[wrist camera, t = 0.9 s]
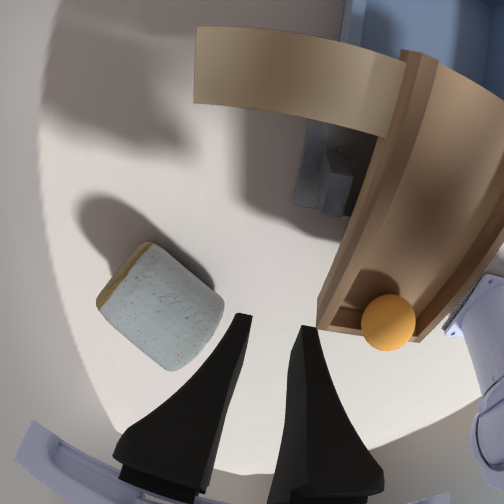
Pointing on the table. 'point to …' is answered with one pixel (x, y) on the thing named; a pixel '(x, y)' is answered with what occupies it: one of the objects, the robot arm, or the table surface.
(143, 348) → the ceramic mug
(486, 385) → the robot arm
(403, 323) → the orange ball
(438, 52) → the bin
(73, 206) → the table surface
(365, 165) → the pivot stand
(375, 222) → the tilt ramp
